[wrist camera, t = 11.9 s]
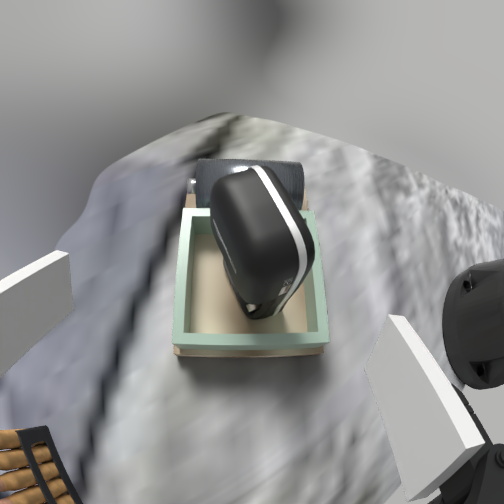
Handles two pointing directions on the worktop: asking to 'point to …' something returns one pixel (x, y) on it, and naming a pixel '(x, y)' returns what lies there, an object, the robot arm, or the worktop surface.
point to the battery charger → (260, 239)
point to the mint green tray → (221, 291)
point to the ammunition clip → (33, 469)
